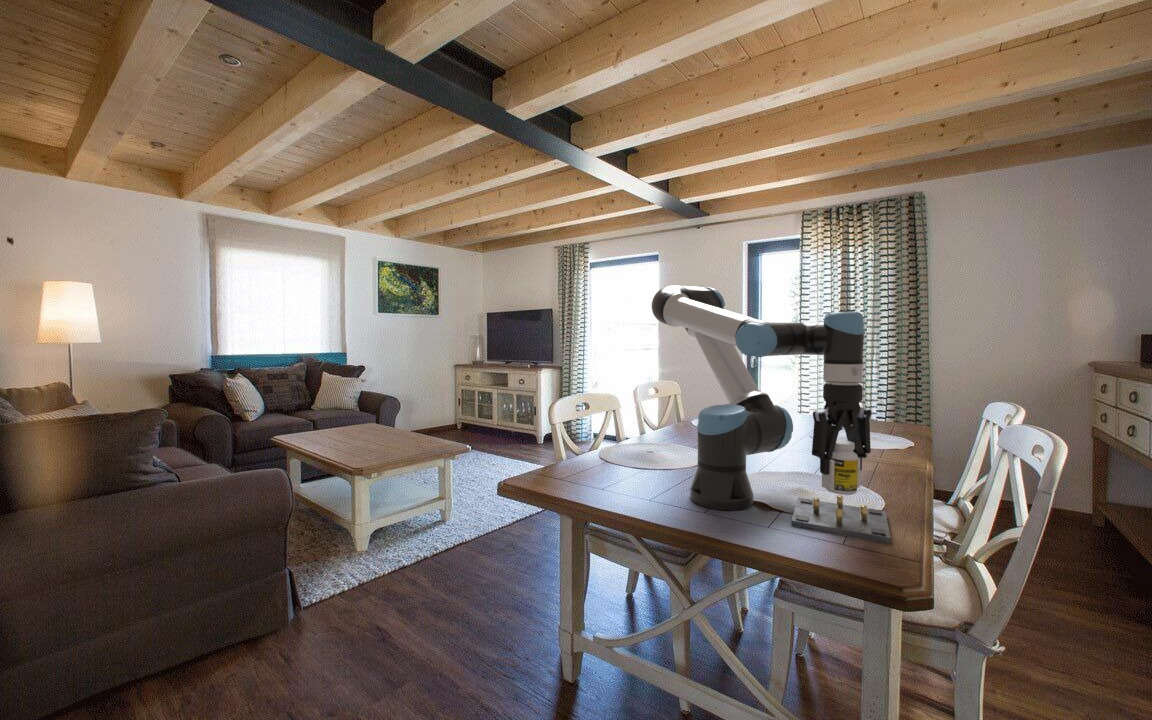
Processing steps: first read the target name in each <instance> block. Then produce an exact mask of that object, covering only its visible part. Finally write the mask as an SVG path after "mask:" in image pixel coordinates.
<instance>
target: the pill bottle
mask: <svg viewBox="0 0 1152 720" xmlns="http://www.w3.org/2000/svg"><path fill="white" fill-rule="evenodd" d="M854 448H855V444H854V442H852V441H848V440H845V439H837V440H836V444H835V447H834V451H833V454H832V458H831V460H834V461H835V468H834V490H829V489H826V490H827V491H828V492H830V493H833V494H837V495H841V496H843V495H844V496H852V495H856V494H857V492H858V487H857V477H858V456H857V454H856V453H855V452H853V450H854Z"/></svg>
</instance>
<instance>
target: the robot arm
mask: <svg viewBox="0 0 1152 720" xmlns="http://www.w3.org/2000/svg"><path fill="white" fill-rule="evenodd" d="M725 306H726V303H725V300H724V297H723V296H722V294H721V293H720V292H719V290H717V289H716V288H714V287H713V288H712V287H709V286H705V285H698V286H694V285H693V286H691V285H679V284H678V285H676V284H674V285H673V284H672V285H671V284H670V285H667V286H664V287H662V288H661V289H659V290H658V291H656V293H655V295H653V298H652V301H651V311H652V314H653V317H655V319H656V320H657V321H659V322H660V323H662V324H664V325H668V326H670V327H673V328H675V327H684V328H685V330H686V333H687V334H688V335H689V336H690V337H692V338H693V337H695V339H696V341H697V343H698V344H699V347H700V348H701V351H702V353H703V355H704V357H705V359H706V361H707V362H708V364H709V366H710V369H711V370H712V372H713V375H714V376H715V378H716V380H717V382H718V384H719V387H720V388H721V390H722V393H723V394H724V396H725V398H726V401H727V402H728V403H727V404H726V403H725V404H715V405H710V406H708V407H705V408H703V409H701V411H700V412H699V413H698V418H697V419H698V421H697V426H696V430H697V469H696V471H695V473H694V477H693V480H692V482H691V485H690V490H689V492H690V493H689V494H690V495H689V496H690V499H691V500H692V502H694V503H695V504H697V505H699V506H702V507H705V508H708V509H712V510H723V511H739V510H744V509H747V508H750V507H752V506H753V504H754V492H753V490H752V486H751V483H750V479H749V477H748V476H749V475H748V473H747V456H751V455H755V454H762V453H771V452H772V453H773V452H775V451H777V450H780V449H783V448H785V447H786V446H787V445H788V444H789V443H790V441H791V439H792V437H793V434H792V433H794V432H793V431H794V423H793V419H792V416H791V415H790V413H789V412H788V410H787V409H786V408H784V407H782V406H780V405H777V404H774V403H773V401H772V399H771V398H770V396H769V394H768V393H766V392H761V391H760V389H759V388H758V386H757V384H756V383H755V381H754V379H753V377H752V376H751V374H750V372H749V370H748V368H747V366H746V364H745V362H744V361H743V359H742V357H741V355H740V354H739V352H738V350H739V351H740V353H741V354H743V355H744V356H747V357H756V358H763V357H773V356H774V357H776V356H795V355H797V356H798V355H799V356H800V355H801V356H802V355H806V356H807V355H808V356H809V355H811V356H813V355H815V356H823V375H822V376H823V378H822V379H823V381H824V382H825V383H824V384H823V387H822V388H823V389H822V391H823V395H822V399H824V401H825V404H824V406H823V409H822V410H820V411H817V410H814V411H813V412H812V418H813V433H812V445H811V446H812V448H811V455H812V456H815V457H817V458H819V472H820V473H821V488H824V489H826V490H827V489H829V490H834V468H835V461H834V460H831V458H832V454H833V451H834V447H835V444H836V440H838V437H839V434H840V432H841V431H842V430H843V428H844V431H845V435H846V439H847V441H852V442H854V444H855V448H854V450H853V452H855V453H856V454H857V456H858V477H857V488H860V487H861V471H862V470H863V459H866V458H867V457H868V454H870V453H871V450H872V448H871V425H870V424H871V423H870V419H871V416H872V410H871V409H867V408H862V407H861V405H860V402H863V395H864V394H863V389H864V388H863V387H864V386H862V385H863V384H860V383H862V382H863V381H864V380H863V379H864V377H863V375H864V373H863V372H864V360H863V359H864V339H865V338H864V337H865V334H866V333H865V322H864V316H863V315H864V314H862V313H861V312H858V311H839V312H835V311H834V312H828V313H826V314H825V315H824V320H823V321H820V322H796V321H795V322H769V321H765V320H761V319H758V318H757V319H756V318H754V317H752V316H751V317H750V316H748V315H744V314H740V313H737V312H734V311H731V310H727V309H725ZM736 347H737V348H736ZM737 349H738V350H737Z"/></svg>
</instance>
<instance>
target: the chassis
mask: <svg viewBox="0 0 1152 720" xmlns="http://www.w3.org/2000/svg"><path fill="white" fill-rule="evenodd" d="M843 502H844V496H843V495H842V494H837V495H836V503H835V502H829V501H822V500H820V498H818V497H813V499H810V498H809V499H808V498H803V497H797V499H796V503H795V507H794V511H793V514H792V517H791V521H790V522H791V523H790V525H791V526H790V527H796V528H801V529H807V530H812V531H817V532H824V533H829V534H834V535H839V536H845V537H850V538H856V539H862V540H867V541H873V542H879V543H884V544H889V545H891V541H892V537H891V533H890V528H889V523H888V517H887V514H886V510H883V509H876V508H868V505H864V504H861V505H860V506H854V505H850V504H849V505H847V504H844V503H843Z"/></svg>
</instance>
